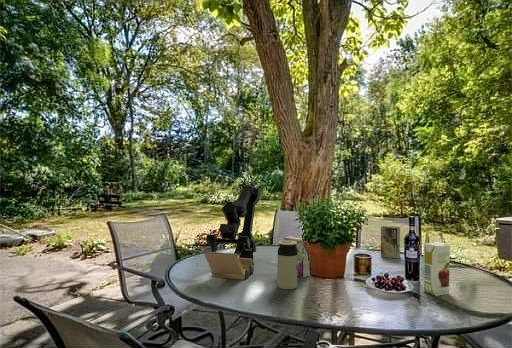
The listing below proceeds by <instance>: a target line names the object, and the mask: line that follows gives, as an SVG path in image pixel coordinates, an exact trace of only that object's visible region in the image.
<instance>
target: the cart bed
mask: <svg viewBox="0 0 512 348" xmlns="http://www.w3.org/2000/svg"><path fill="white" fill-rule="evenodd" d="M238 258H239V257H238ZM239 261H240V263H241V266H242V268H243V271H244V275H237V274H226V273H214V272H212V271H211V274H212V277H213V278H219V279H220V278H223V279H231V280H232V279H233V280H245V279H249V278H250V275H253V274H254V272H255V267H254V265H252V259H248V258H239Z"/></svg>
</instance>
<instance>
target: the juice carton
mask: <svg viewBox="0 0 512 348" xmlns="http://www.w3.org/2000/svg"><path fill="white" fill-rule="evenodd" d="M450 248H451V244H448V243H446V242H445V243H444V242H439V241H434V242H424V243H423V265H422V267H423V270H422V273H423V275H422V280H423V281H422V285H423V286H422V287H423V289H422V291H423V292H424V291H425V292H424V293H426V292H427V294H429V293H430V294H429V295H431V294H432V296H434V295H435V296H434V297H441V296H444V295H445V296H447V295H449V294H450V266H451V265H450V264H451V263H450V262H451V259H450V257H451V251H450V250H451V249H450ZM440 295H441V296H440Z"/></svg>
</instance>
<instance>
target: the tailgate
mask: <svg viewBox="0 0 512 348" xmlns="http://www.w3.org/2000/svg"><path fill="white" fill-rule="evenodd" d="M203 255H204V257H205V259H206V261H207V263H208V267H210V270H211V273H212V272H214V273H226V274H237V275H244V271H243V268H242V266H241V263H240V261H239V255H237V254H234V252H232V253H231V252H220V251H219V252H217V251H216V252H212V251H207V250H206V251H204V252H203Z"/></svg>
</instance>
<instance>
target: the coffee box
mask: <svg viewBox="0 0 512 348" xmlns="http://www.w3.org/2000/svg"><path fill="white" fill-rule="evenodd" d="M380 257H381V258H389V259H390V258H391V259H399V258H401V227H399V226H389V225H386V226H385V225H383V226H381V227H380Z"/></svg>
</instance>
